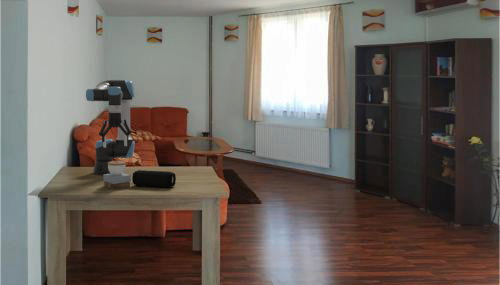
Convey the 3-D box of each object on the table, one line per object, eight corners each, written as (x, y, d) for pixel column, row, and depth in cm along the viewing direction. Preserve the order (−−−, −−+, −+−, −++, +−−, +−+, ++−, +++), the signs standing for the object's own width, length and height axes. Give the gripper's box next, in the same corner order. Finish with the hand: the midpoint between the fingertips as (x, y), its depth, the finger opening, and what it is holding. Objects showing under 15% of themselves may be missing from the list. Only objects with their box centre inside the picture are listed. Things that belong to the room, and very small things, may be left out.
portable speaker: (176, 186, 364) (176, 170, 362) (171, 189, 354) (171, 173, 353) (137, 184, 368) (137, 168, 366) (131, 187, 358) (131, 171, 357)
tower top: (103, 180, 358) (103, 174, 357) (120, 178, 366) (120, 172, 365) (113, 183, 349) (113, 177, 349) (130, 181, 357) (130, 175, 357)
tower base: (104, 186, 359) (103, 180, 359) (122, 185, 366) (122, 178, 366) (111, 190, 350) (111, 183, 349) (129, 188, 357) (129, 181, 356)
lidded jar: (109, 173, 362) (108, 158, 361) (126, 173, 363) (126, 158, 362) (106, 176, 351) (106, 161, 350) (124, 176, 353) (124, 161, 351)
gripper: (97, 113, 343) (98, 148, 346) (136, 111, 358) (136, 145, 360) (92, 112, 349) (93, 147, 352) (131, 111, 364) (131, 144, 366)
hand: (115, 146), depth 356 cm, fingers open, 13 cm apart
